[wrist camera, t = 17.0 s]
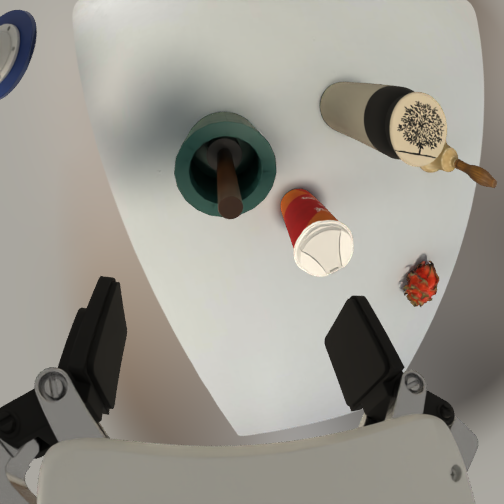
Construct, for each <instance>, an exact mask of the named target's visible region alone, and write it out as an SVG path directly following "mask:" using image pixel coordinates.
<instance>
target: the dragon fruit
mask: <svg viewBox="0 0 504 504" xmlns="http://www.w3.org/2000/svg"><path fill="white" fill-rule="evenodd" d="M429 262H430V263H431V264H427V265H425V263H426V262H425V261H423V262H422V263H420V264H418V266H417V267H418V268H416V269H417V270H416V271H415V270H414V271H411V273H409V274H408V276H407V281H408V285H405V286H404V288H403V290H404V289H407V290H406V291H405V290H404V291H405V293H404V295H405V294H408V295H407V298H408V300H409V301H411V304H412V305H413V306H414V307H415V306H418V305H420V307H421V306H422V305H423V304H424V303H427V301H431V300H432V298H431V296H433V295H435V294H436V292H437V284H438V282H439V277H438V275H437V274H436V270H435V268H434V264H433V263H432V262H431V261H429ZM421 264H422V265H421ZM420 265H421V266H420ZM409 279H410V280H409Z"/></svg>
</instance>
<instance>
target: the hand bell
mask: <svg viewBox="0 0 504 504" xmlns="http://www.w3.org/2000/svg"><path fill="white" fill-rule="evenodd" d="M455 168H456V169H459V170H461V171H463V172H465V173H466V174H468V175H469V176H470V178H471V179H473V180H474V181H475V182H477V183H478V184H480V185H482V186H486V187H492V188H495V187H496V184H497V181H496V180H495V179H494V178H493V177H492V176H491V175H490V174H489V172H487V171H486V170H484V169H483V168H481V167H478V166H475V165H469V164H467V163H465V162H463V161H461V160H460V159H458V155H457V153H456V151H455V150H454V149H453V148H452V147H450V146H449V145H447V143H446V141H445V144H444V147H443V149H442V151H441V153H440V154H439V156H438V157H437V158H436V159H435V160H434V161H433V162H431V163H430V164H428V165H425V166H421V169H422V170H424V171H426V172H430V173H431V172H436V171H438V170H443V171H446V172H451V171H453V170H454V169H455Z"/></svg>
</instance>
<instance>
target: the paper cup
mask: <svg viewBox="0 0 504 504" xmlns="http://www.w3.org/2000/svg"><path fill="white" fill-rule="evenodd" d="M281 212H282V215H283V218H284V221H285V224H286V227H287V230H288V233H289V236H290V239H291V242H292V245H293V248H294V259H295V261H296V263H297V265H298V266H299V267H300V268H301V269H302V270H304V271H306V272H307V273H308V274H310V275H313V276H318V277H324V276H328V275H327V274H330V273H331V274H332V273H334V272H336V271H338V270H339V268H341V267H344V266H345V265H346V264H347V263H348V262H349V260H350V258H351V256H352V253H353V237H352V233H351V231H350V230H349V228H348V227H347V226H346V225H345V224H343V223H341V222H339V221H338V220H337V219H336V218H335V217H334V216H333V215H332V214H331V213H330V212H329V211H328V210H327V209H326V208H325V207H324V206H323V205H322V204H321V203H320V202H319V201H318V200H317V199H316V198H315V197H314V196H313V195H312V194H311V193H310V192H308V191H306V190H304V189H294V190H291V191H289V192H288V193H286V194H285V196H284V197H283V199H282V201H281Z"/></svg>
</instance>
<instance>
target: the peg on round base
mask: <svg viewBox="0 0 504 504" xmlns="http://www.w3.org/2000/svg"><path fill="white" fill-rule="evenodd" d="M206 157H207V161H208V163H209V165H210V166H211V167H212V168H213V169H214V170H216V171H217V194H218V212H219V214H220V215H221V216H222V217H224V218H226V219H234V218H236V217H238V216H239V215H240V214H241V213H242V211H243V203H242V198H241V194H240V189H239V185H238V180H237V176H236V171H235V168H236V167H237V166H238V165H239V164H240V162H241V160H242V150H241V147H240V145H239V142H238V140H237V139H236V138H235V137H230V136H223V137H217V138H213V139H211V140H210V141H209V143H208V147H207V154H206Z"/></svg>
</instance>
